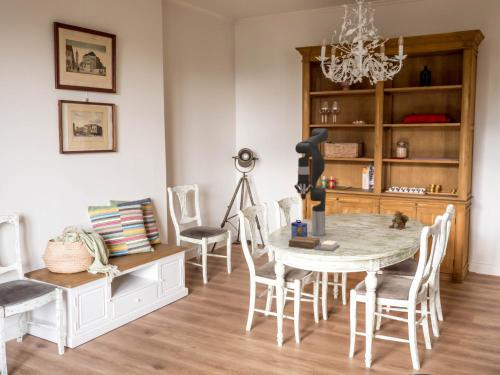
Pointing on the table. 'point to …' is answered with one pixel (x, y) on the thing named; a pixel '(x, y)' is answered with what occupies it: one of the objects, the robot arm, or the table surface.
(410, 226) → the table surface
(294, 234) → the ink cartridge box
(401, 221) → the stuffed squirrel
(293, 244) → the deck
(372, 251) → the table surface
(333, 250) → the mat
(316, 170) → the robot arm
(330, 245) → the cream rectangular block
